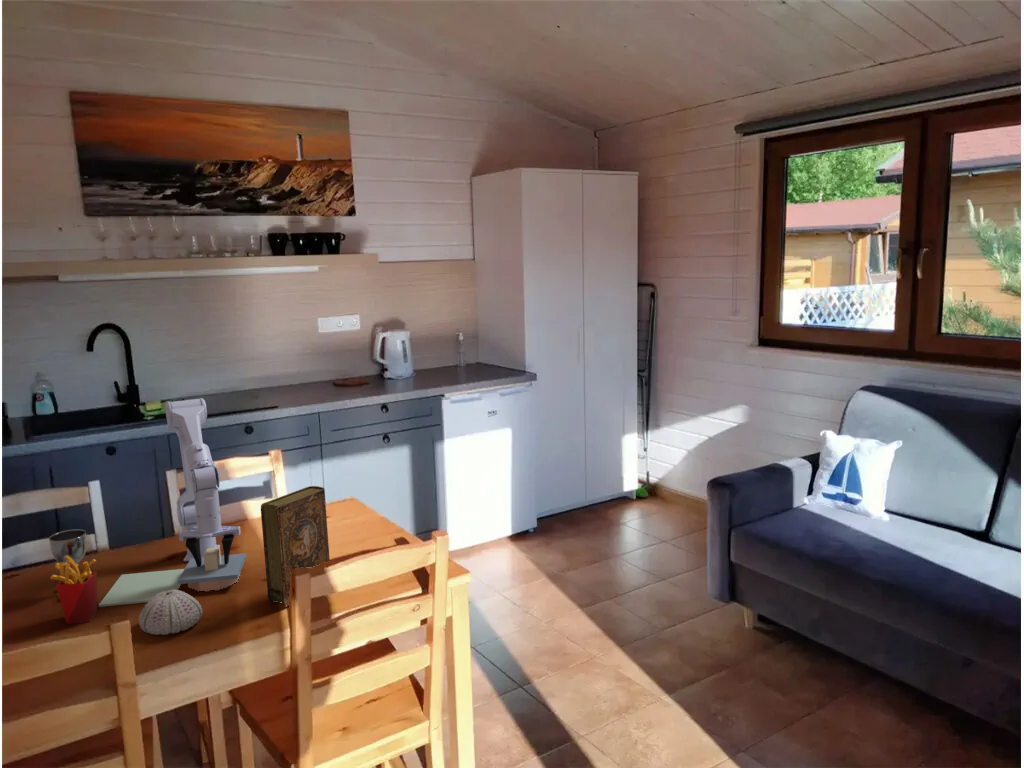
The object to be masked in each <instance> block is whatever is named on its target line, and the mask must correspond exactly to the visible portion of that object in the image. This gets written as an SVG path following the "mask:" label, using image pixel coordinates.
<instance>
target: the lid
mask: <svg viewBox="0 0 1024 768" xmlns="http://www.w3.org/2000/svg"><path fill="white" fill-rule="evenodd" d="M201 559H202V564H201V566H200V567H197V564H196V561H195V559H194V558H191V559H190V561H187V562H188V563H187V564H186V566H185V567H184V568H183V569H184V571H183V573H182V574H181V576H180V578H179V580H178V584H182V585H185V584H186V585H187V584H188V583H196V582H206V581H217V580H227V579H237V578H238V577H239V574H240V572H241V571H242V568H243V567H244V563H245V562H246V560H247V553H234V554H233V553H232V554H229V562H228V564H225V563H224V554H223V555H222V554H221V546H220V547H218V548H208V549H207V551H206V553H205V554H204V557H201Z"/></svg>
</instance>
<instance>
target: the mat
mask: <svg viewBox="0 0 1024 768" xmlns="http://www.w3.org/2000/svg"><path fill="white" fill-rule="evenodd" d="M184 569H185V568H177V569H168V570H166V569H165V570H157V571H147V572H137V573H128V574H127V573H125V574H121V575H120V576H119V578H118V579H117V580H116V581H115V583H114V584H113V585H112V587H111V588H110V589H109V591H108V592H107V593H106V594H105V596H104V597H103V599H102V600H101V601H100V602H99V604H97V607H98V608H103V607H104V608H105V607H113V606H123V605H133V604H142V603H143V604H144V603H148V601H149V600H150V599H151V598H152V597H154V596H155V595H156V594H158V593H160V592H166V591H169V590H174V589H176V590H179V591H180V589H181V587H182V585H181V584H178V580H179V578H180V576H181V574H182V573H183V571H184ZM180 586H181V587H180ZM179 588H180V589H179Z"/></svg>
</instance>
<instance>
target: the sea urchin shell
mask: <svg viewBox="0 0 1024 768" xmlns="http://www.w3.org/2000/svg"><path fill="white" fill-rule="evenodd" d="M203 613H204V612H203V607H202V605H201V604H200V602H199V600H197V599H196V598H195V597H193V595H190V594H189V593H186V592H185V591H182V590H180V589H179V590H176V589H174V590H169V591H166V592H160V593H158V594H156V595H155V596H154V597H152V598H151V599H150V600H149V601H148V602H146V604H144V607H143V608H142V609H141V612H140V613H139V615H138V618H137V621H138V625H139V627H140V630H142V631H143V632H145V633H147V634H150V635H156V636H157V635H163V636H164V635H169V634H175V633H176V634H177V633H179V632H181V631H184V632H185V631H186V630H189V628H193V627H194V626H195V624H198V621H200V620H201V618H202V617H203Z"/></svg>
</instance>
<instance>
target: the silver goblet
mask: <svg viewBox="0 0 1024 768" xmlns="http://www.w3.org/2000/svg"><path fill="white" fill-rule="evenodd" d="M86 534H87V533H86V530H84V529H80V528H79V529H77V528H75V529H67V530H62V531H58V532H55V533H54V534H52V535H50V536H49V538H48V539H49V546H50V551H51V553H52V556H53V558H54V560H56V562H57V563H61V562H64V563H65V562H66V561H67V560H66V559H65V558H64V557H65V555H68V556H69V557H71V558H72V559H73V560H74V561H75V563H76V564H78V565H79V563H80V562H81V560H83V558H84V556H85V555H86V551H87V541H88V540H87V535H86ZM66 563H67V562H66ZM68 564H69V563H68ZM70 567H71V568H72V569H73V567H72V566H71V565H70Z"/></svg>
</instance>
